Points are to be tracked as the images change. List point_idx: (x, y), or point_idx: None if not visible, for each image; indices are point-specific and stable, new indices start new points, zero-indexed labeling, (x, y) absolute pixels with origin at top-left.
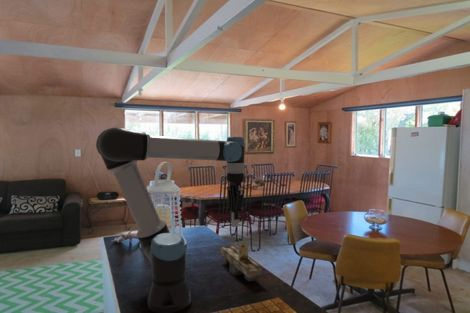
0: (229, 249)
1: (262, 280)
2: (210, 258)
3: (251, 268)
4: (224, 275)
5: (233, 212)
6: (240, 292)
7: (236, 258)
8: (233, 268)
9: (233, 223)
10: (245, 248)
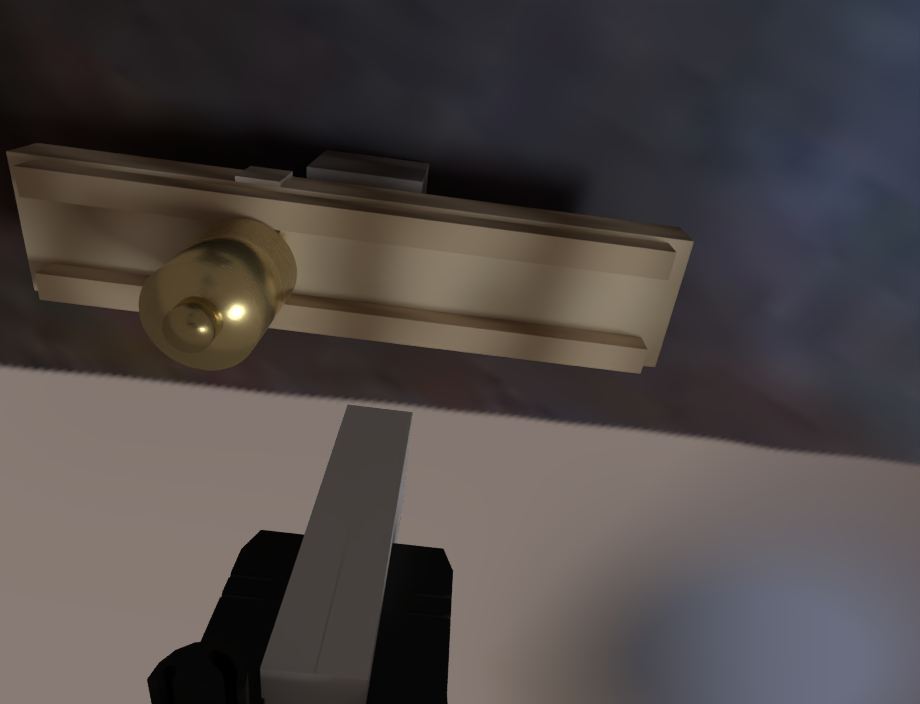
0: (625, 317)
1: None
2: (807, 171)
3: (76, 227)
4: (386, 82)
5: (262, 670)
6: (26, 22)
7: (291, 213)
8: (329, 163)
9: (333, 458)
10: (143, 310)
